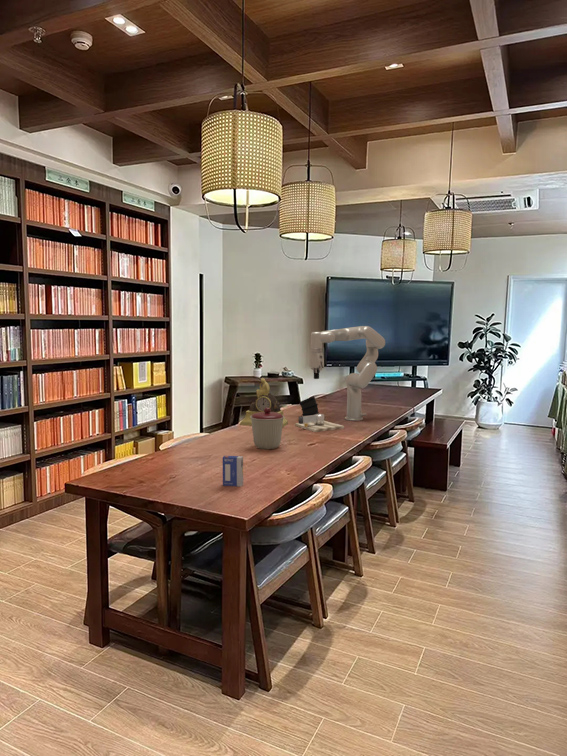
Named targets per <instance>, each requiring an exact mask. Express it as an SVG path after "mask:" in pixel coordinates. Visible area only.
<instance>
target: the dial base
mask: <svg viewBox="0 0 567 756" xmlns="http://www.w3.org/2000/svg"><path fill="white" fill-rule="evenodd" d="M294 426H295V427H298V428H301V429H305V430H307V431H310V432H314V433H319V432H325V431H335V430H341V429H345V426H344V425H342V424H338V423H334V422H330V421H327V420H324V425H316V424H315V422H311V423H304V424H299V422H295V424H294Z"/></svg>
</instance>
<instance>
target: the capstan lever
mask: <svg viewBox="0 0 567 756" xmlns="http://www.w3.org/2000/svg"><path fill="white" fill-rule="evenodd" d="M324 421H325V414H324V413H319V414H315V415H310V416H303V415H301V416H299V417H298V423H299V424H304V423H311V422H315V424H316V425H324Z"/></svg>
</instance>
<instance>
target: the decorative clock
mask: <svg viewBox="0 0 567 756" xmlns="http://www.w3.org/2000/svg"><path fill="white" fill-rule="evenodd" d="M270 390H271V388H270V385H269V383H268V382H267V381H266V379H265V378H264V377H262V378H260V383H259V389H256V390H255V391H256V397H257V399H255V401H253V402H251V404H250V406H249V409H248V410H246V411H245V415H244V418H243V419H242V420H241V421H239V425H240V426H245V427H248V426H250V427H252V421H251V418H250V416H251V415H253V414H254V413H258V412H264V409H265V408H270V409H271V411H270V412H277V413H280V414H282V415H283V416H285V415H284V410H281V405H280V404H281V403H280V402H279V401H278V399H277V398H276V397H275V395H273V393H271V391H270ZM288 424H289V420H287V419H286V417H284V419H283V426H282V429H283V428H284V427H285V426H286V427H287V425H288Z"/></svg>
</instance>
